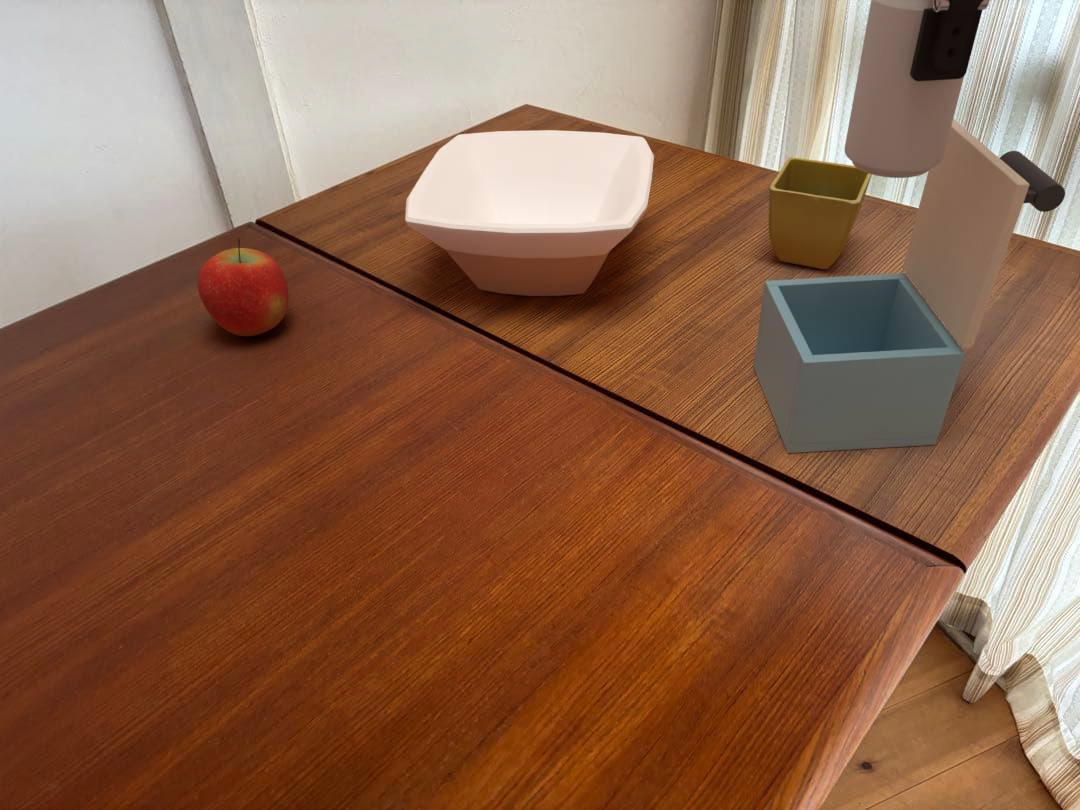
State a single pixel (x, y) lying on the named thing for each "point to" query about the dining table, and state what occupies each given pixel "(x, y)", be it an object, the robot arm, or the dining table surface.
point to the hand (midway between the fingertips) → (914, 58)
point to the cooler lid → (970, 227)
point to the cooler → (854, 363)
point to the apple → (243, 291)
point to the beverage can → (897, 98)
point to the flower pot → (814, 210)
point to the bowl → (532, 205)
